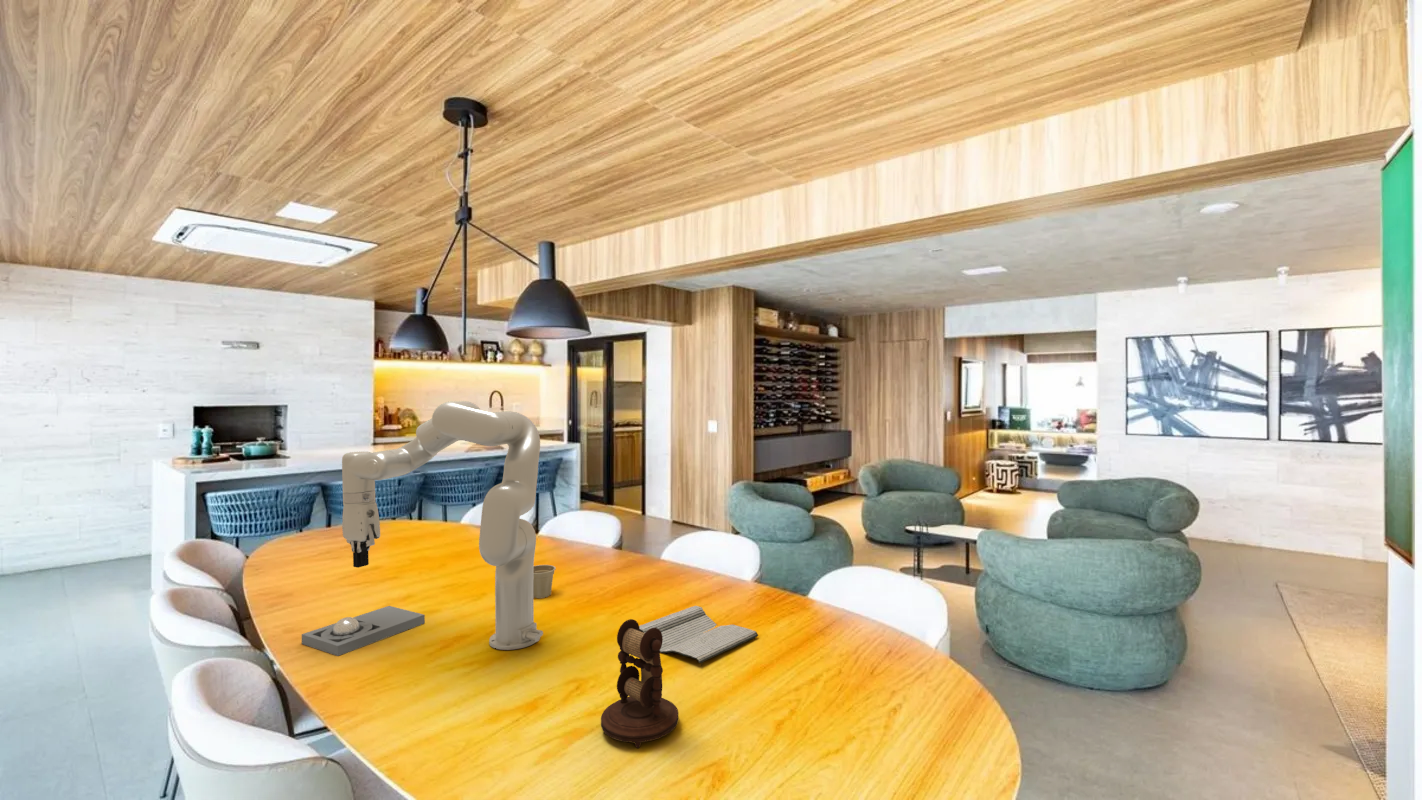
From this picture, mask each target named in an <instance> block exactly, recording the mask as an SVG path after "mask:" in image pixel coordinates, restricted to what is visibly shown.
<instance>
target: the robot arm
mask: <svg viewBox="0 0 1422 800" xmlns="http://www.w3.org/2000/svg"><path fill="white" fill-rule="evenodd" d="M415 435H416V437H415V438H414V439H412V440H411V441H409V442H407V443H405V444H404V445H402V446H400V447H398V448H396V449H395V448H394V449H387V450H386V449H385V450H380V451H373V452H370V451H352V452H351V451H350V452H347V453H344V454H343V455H342V459H341V472H342V473H341V475H342V505H343V507H342V508H343V509H342V518H341V519H342V525H341V527H342V529H341V530H342V537H343V538H344V539H345V540H346V543H348V545H350V547H351V552H352V559H353V560H352V562H353V564H352V566H353V567H354V568H358V569H359V568H362V567H366V566H368V565H369V564H370V562H369V559H370V558H369V551H370V549H371V547H372V546H375V544H376V542H375V540H376V539H379V538H380V537H381V525H380V524H381V523H380V516H379V509H378V504H377V502H376V481H382V480H388V479H392V478H396V477H400V476H405V475H408V474H409V473H411V472H413V471H415V470H417V469H418V468H420V467H422V466H424V465H425V464H427V463H429V461H431V460H432V459H433V458H434V457H435V456H437V455H438V453H439V452H441V451H443V450H445V449H446V448H447V447H449V446H451V445H453V444H455V443H456V442H458V441H460V440H461V441H465V442H468V443H473V444H476V445H481V446H487V447H497V446H502V445H507V446H508V450H507V452H506V456H505V460H504V464H503V476H502V481H501V482H500V483H498V484H496V485H494V486H493V487H491V488H490V489H489V490H488V491H487V493H486V495H485V496H484V498H483V499H484V500H483V502H482V507H481V508H482V509H481V516H480V527H479V528H480V529H479V535H478V536H479V537H478V550H479V554H480V556H481V558H482V559H483V560H484V562H485V563H487V564H488V565H490V566H494V567H495V577H494V579H495V583H494V584H495V585H494V590H495V591H494V593H495V594H494V595H495V598H494V599H495V601H494V602H495V606H494V607H495V608H494V610H495V614H494V615H495V632H494V633H493V634H492V635H490V637H489V641H488V644H489V646H490V647H491V648H493V649H495V648H496V649H495V650H501V651H503V650H504V651H510V650H520V649H523V648H527V647H529V646H532V645H534V644H535V643H537V642H539V641H540V640H541V637H542V636H543V635H544V631H543V630H541V629H537V622H534V621H535V619H534V616H535V615H534V598H533V579H534V577H533V572H534V571H533V569H534V566H535V565H534V563H535V553H536V545H537V535H536V531H535V528H534V526H533V525H532V523H531V522H529V521H528V520H526V519H524V518H520V517H521V516H523V515H525V514H526V513H528V512H530V511H531V510H532V508H534V505H535V502H536V494H537V484H538V474H539V472H538V471H539V461H540V451H541V438H540V433H539V430H538V427H537V426H536V424H534V422H533V421H532V420H531V419H530V418H529V417H527V416H526V415H524V414H523V413H520V412H516V411H511V410H510V411H508V410H507V411H496V412H495V411H486V410H483V409H481V408H480V407H479V406H478V405H477V404H475V403H474V402H471V401H464V400H463V401H462V400H461V401H460V400H459V401H456V400H455V401H446V402H443V403H441V404H439V405H438V406H437V407H436V408H435V409H434V411H433V413H432V415H431V418H430V419H428V420H427V421H424V422H423V423H422V424H420V425H419V426H417V428H416V431H415Z"/></svg>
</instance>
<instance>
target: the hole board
mask: <svg viewBox="0 0 1422 800" xmlns="http://www.w3.org/2000/svg"><path fill="white" fill-rule="evenodd" d="M352 618H354V619H356V620H357V621H358V622H359V625H360V629H359V632H357V633H354V634H351V635H346V636H334V635H333V628H334V626H335V624H336V623H337V622H335V623H332V624H328V625H325V626H323V627H319V628H316V629H313V630H311V631H307V632H304V633H301V645H303V646H307V647H309V648H313V649H316V650H318V651H321V652H324V653H327V654H331V655H333V656H336V657H339V656H342V655H345V654H347V653H350V652H352V651H355V650H357V649H361V648H363V647H366V646H369V645H371V644H374V643H377V642H379V641H382V640H385V639H387V638H390V637H393V636H395V635H398V634H401V633H403V632H406V631H409V630H411V629H414V628H417V627H419V626H422V625H424V623H425V614H423V613H419V612H415V611H411V610H407V609H403V608H400V607H395V606H391V605H388V606H384V607H381V608H378V609H375V610H373V611H369V612H366V613H363V614H360V615H357V616H354V617H352ZM421 624H422V625H421ZM416 626H417V627H416ZM408 629H409V630H408Z"/></svg>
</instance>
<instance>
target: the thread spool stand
mask: <svg viewBox="0 0 1422 800" xmlns="http://www.w3.org/2000/svg"><path fill="white" fill-rule="evenodd" d="M639 626H640V625H639V622H637V620H635V619H632V618H630V619H629V618H628V619H626V620H625V621H624V622H622V624H621V625H620V626H619V628H618V630H617V634H616V642H617V645H618V647H619V650H620V651H619V652H618V654H617V659H618V661H619V664H620V668H619V673H620V674H619V676H618V678H617V682H616V690H617V693H618V694H619V698H620V699H618V700H617V701H615V702H613V703H611V704H610V705H608V706H607V707H606V708H605V709H604V710H603V712H602V713H601V717H600V727H601V729H602V731H603V733H604V734H605V735H606V736H608V737H610V738H612V739H614V740H616V741H620V742H626V743H634V746H635V748H636V749H640V747H641V744H642V743H644V742H645V743H646V742H650V741H654V740H658V739H660V738H662V737H665V736H667V735H668V734H670V733H671V732H672V731H673V730H675V729H676V727H677V725H678V724H679V709H678V708H677V706H676V705H675V703H673V702H672V701H670V700H668V699H666V698H664V697H662V696H663V671H664V668H663V666H662V661H661V660H662V659H661V654H662V653H661V651H660V649H661V647H662V641H663V637H662V633H661V631H660V630H659V629H658V628H651V629H649V630H647V631H646V632H645V633H643V632H640V628H639ZM635 657H636V658H635ZM627 664H633V665H629V666H627ZM639 669H640V670H639ZM640 677H641V678H640Z"/></svg>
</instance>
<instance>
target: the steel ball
mask: <svg viewBox="0 0 1422 800" xmlns="http://www.w3.org/2000/svg"><path fill="white" fill-rule="evenodd" d="M335 623H336V624H335ZM335 623H334V624H335V626H334V628H333V635H334V636H346V635H351V634H354V633H357V632H359V629H360V625H359V622H358V621H357V620H356V619H354V618H353V617H351V616H346V617H343V618H340V619H339V620H338V621H337V622H335Z"/></svg>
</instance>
